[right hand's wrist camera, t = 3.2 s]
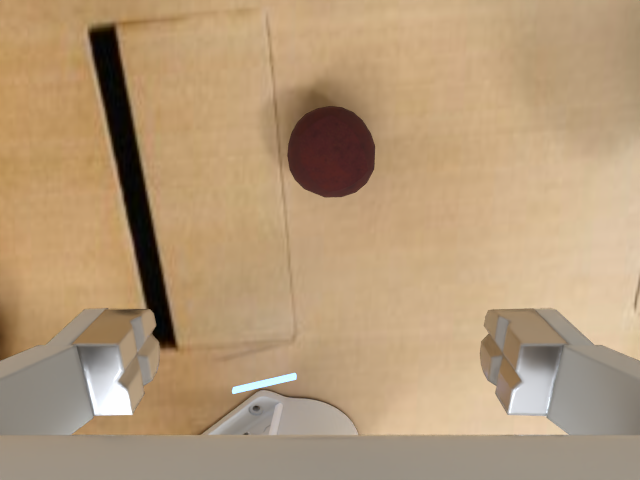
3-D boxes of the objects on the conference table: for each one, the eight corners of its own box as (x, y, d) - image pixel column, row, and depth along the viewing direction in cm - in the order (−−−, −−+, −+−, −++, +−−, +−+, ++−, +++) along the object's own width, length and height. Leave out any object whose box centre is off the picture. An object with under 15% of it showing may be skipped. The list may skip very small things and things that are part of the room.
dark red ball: (342, 88, 36) (347, 88, 29) (385, 163, 38) (398, 179, 32) (273, 133, 37) (263, 143, 31) (318, 203, 40) (318, 226, 33)
